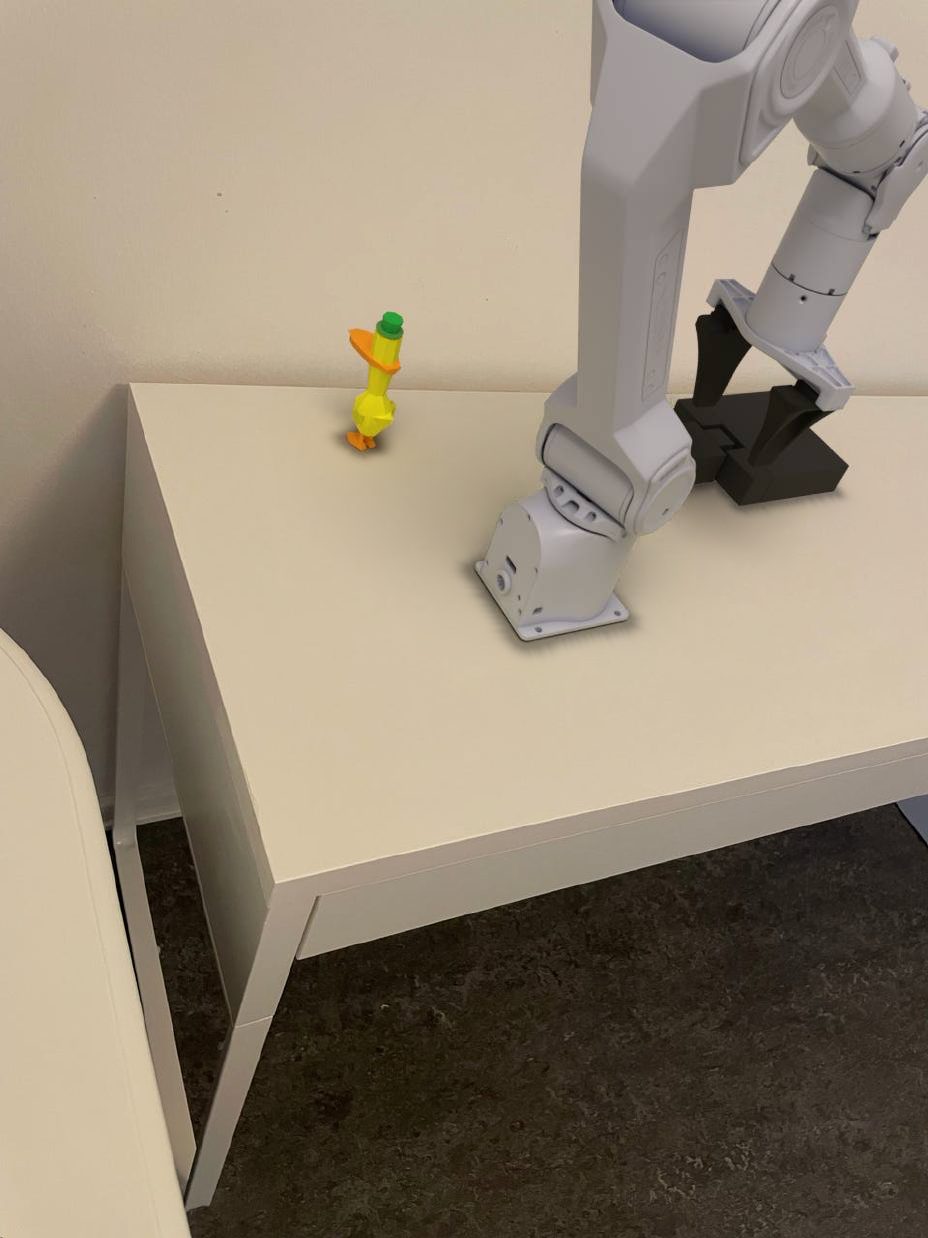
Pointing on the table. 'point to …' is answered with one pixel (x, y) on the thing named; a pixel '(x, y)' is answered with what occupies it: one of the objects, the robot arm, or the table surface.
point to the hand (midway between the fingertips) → (730, 433)
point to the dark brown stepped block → (707, 450)
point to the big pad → (793, 470)
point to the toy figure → (376, 378)
